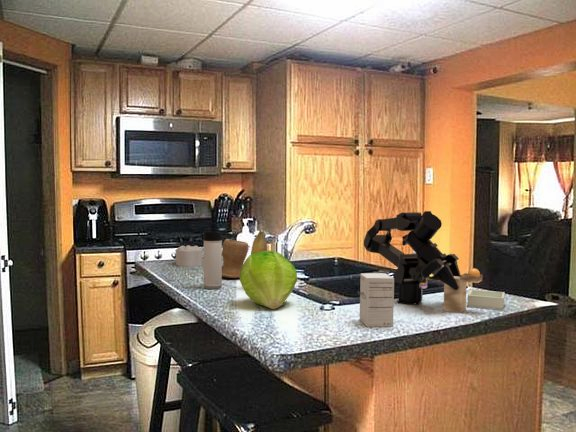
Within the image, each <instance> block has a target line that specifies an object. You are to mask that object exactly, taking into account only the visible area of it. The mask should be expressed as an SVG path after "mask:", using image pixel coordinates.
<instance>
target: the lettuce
mask: <svg viewBox="0 0 576 432" xmlns="http://www.w3.org/2000/svg"><path fill="white" fill-rule="evenodd" d="M239 282H240V284H241V287H242V289H243V291H244V293H245V295H246V296H247V297H248V298H249V299H250V300H251V301H253V303H255V304H257V305H261V306H264V307H266V308H268V309H272V310H275V309H277V308H279V307H281V306H282V304H283V303H285V301H286V300H287V299H288V298H289V297H290V295H291V293H292V292H293V290H294V288H295V286H296V283H297V282H298V275H297V269H296V267H295V266H294V265H293V263H292V262H291V261H290V260H288V259H287V258H285V255H283V254H282V253H280V252H279V251H274V250H267V251H263V252H258V253H253V254H251V253H250V255H249V256H247V257H246V258H245V261H244V263H243V266H242V269H241V272H240V278H239Z"/></svg>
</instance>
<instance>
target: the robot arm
mask: <svg viewBox="0 0 576 432" xmlns="http://www.w3.org/2000/svg"><path fill="white" fill-rule="evenodd" d="M442 224H443V223H442V220H441V219H440V218H439V217H438V216H436V215H435V214H433V213H432V211H431V210H428V211H427V210H425V211H424V212H419V211H417V212H410V211H409V212H407V211H405V212H400V213H399V214H396V217H390V218H378V219H376V220H375V222H374V224H373V225H372V226H371V228H370V229H369V228H368V230H367V231H366V233H365V236H364V240H363V246H364V248H365V250H366V252H370V253H373V254H379V255H381V256H382V257H383V258H385V259H386V261H389V262H390V263H392V264H393V265H394V266H395V267H396V268H397V269H396V270H395V272H394V273H393V278H394V283H397V284H398V299H397V300H396V303H399V304H410V305H419V304H421V302H422V301H423V294H424V293H423V291H424V289H423V288H422V287H421V283H426V279H427V280H428V279H430V280H439V281H441V282H442V283H443V284H444V283H446V284H447V285H448V286H450V287H451V288H453V289H454V290H458V289H459V287H458V285H457V282H456V280H455V278H454V276H458V277H460V275H461V271H460V269H459V265H458V260H459V257H458V256H457V255H456V254H455V253H448V254H446V253H442V251H440V249H439V248H438V244H437V242H432V240H431V239H432V238H433V237H435V235H436V233H438V232H439V230H440V229H441V227H442ZM392 230H393V231H394V230H397V231H400V232H401V231H402V232H408V233H407V234H405V235H403V236H402V237H401V239H402V242H401V243H402V246H403V247H404V246H405V245H408V246H409V247H410V248H411V250H413V251H415V252H416V254H412V253H408V254H407V253H404V252H403V251H401V250H399V249H398V248H397V247H395V246H394V245H393V244H391V243H392V239H393V236H392V233H391V232H392ZM379 232H385V233H386V234H379ZM431 275H432V276H431ZM430 276H431V277H430Z"/></svg>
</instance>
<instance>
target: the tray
mask: <svg viewBox="0 0 576 432" xmlns="http://www.w3.org/2000/svg"><path fill="white" fill-rule="evenodd" d="M505 294H506V293H505V291H494V290H492V291H491V290H482V289H481V290H479V289H469V292H468V294H467V300H466V308H477V309H487V310H498V311H499V310H500V311H504V309H505Z"/></svg>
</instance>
